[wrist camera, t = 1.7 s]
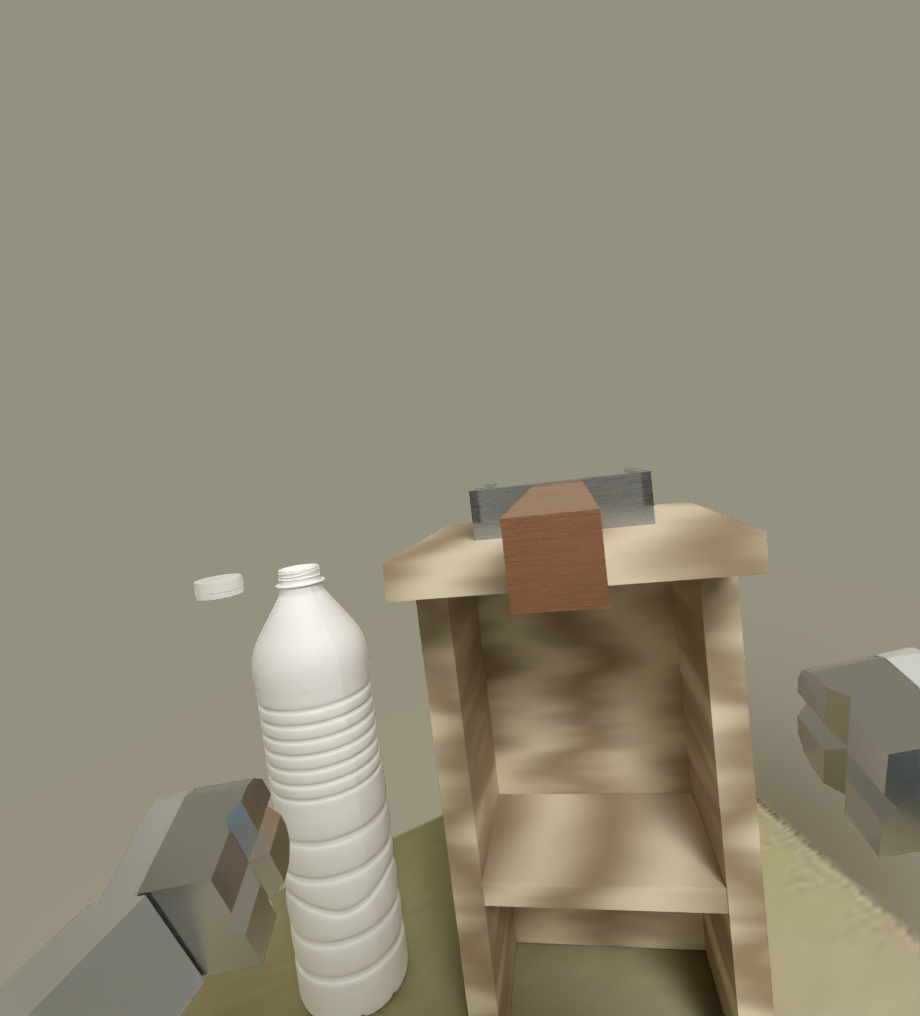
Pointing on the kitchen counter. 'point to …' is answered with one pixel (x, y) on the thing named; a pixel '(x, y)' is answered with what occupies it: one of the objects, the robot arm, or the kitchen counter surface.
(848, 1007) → the kitchen counter surface
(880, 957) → the kitchen counter surface
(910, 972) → the kitchen counter surface
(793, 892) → the kitchen counter surface
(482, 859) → the stand
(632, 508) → the shovel
